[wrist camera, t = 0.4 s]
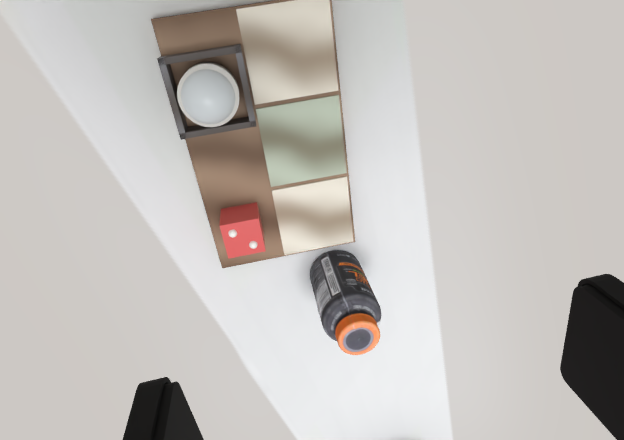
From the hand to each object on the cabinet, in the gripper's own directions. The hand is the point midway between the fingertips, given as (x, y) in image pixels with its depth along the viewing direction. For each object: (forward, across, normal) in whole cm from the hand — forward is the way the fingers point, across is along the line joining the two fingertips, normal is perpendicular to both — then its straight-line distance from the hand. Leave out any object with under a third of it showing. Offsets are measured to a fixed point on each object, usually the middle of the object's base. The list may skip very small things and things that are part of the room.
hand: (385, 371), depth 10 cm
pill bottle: (+33, -3, +20) cm, 38 cm away
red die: (+32, +6, +10) cm, 34 cm away
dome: (+30, +5, -3) cm, 31 cm away
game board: (+32, +2, +4) cm, 32 cm away
